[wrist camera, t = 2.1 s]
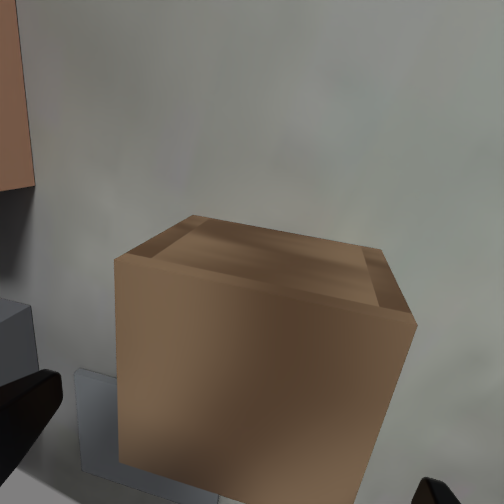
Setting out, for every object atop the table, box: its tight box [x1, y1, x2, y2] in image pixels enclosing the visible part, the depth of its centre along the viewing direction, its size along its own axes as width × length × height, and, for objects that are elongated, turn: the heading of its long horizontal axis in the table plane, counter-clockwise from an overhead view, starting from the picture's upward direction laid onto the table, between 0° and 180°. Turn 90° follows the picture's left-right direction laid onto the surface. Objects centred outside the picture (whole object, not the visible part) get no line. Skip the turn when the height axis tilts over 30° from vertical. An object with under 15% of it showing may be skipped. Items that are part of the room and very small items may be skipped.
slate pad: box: [74, 368, 219, 504], centre depth 17 cm, size 8×7×1 cm
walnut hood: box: [114, 215, 418, 504], centre depth 11 cm, size 7×7×5 cm
